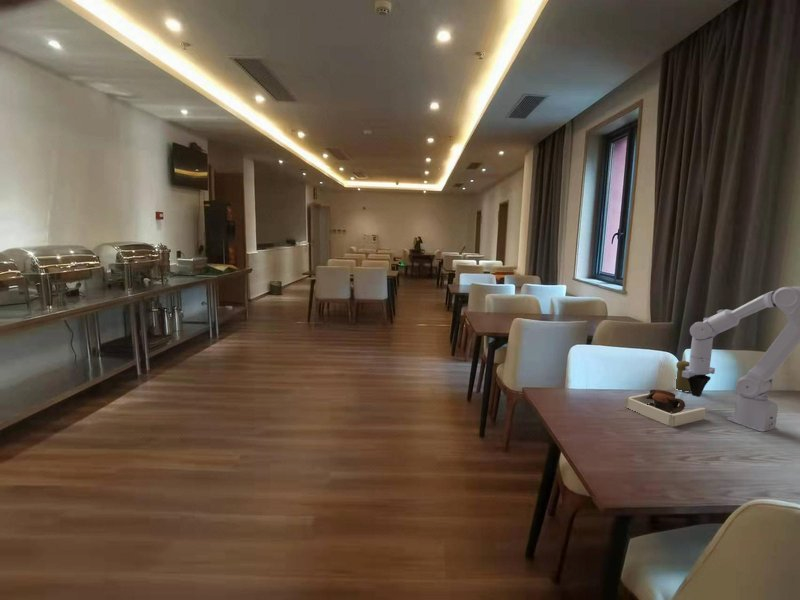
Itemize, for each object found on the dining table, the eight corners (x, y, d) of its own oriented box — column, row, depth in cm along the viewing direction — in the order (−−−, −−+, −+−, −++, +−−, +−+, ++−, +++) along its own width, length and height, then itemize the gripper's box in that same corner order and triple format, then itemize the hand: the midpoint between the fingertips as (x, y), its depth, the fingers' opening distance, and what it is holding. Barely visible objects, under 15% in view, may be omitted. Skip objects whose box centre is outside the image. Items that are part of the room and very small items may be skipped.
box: (704, 419, 132) (705, 408, 132) (671, 426, 126) (673, 415, 125) (656, 401, 147) (657, 391, 146) (624, 407, 140) (625, 397, 140)
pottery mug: (638, 411, 139) (641, 387, 141) (654, 419, 143) (656, 396, 145) (677, 415, 128) (679, 389, 131) (693, 423, 132) (694, 398, 135)
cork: (675, 391, 158) (678, 362, 157) (670, 385, 164) (673, 358, 162) (693, 393, 156) (697, 364, 155) (687, 387, 162) (691, 360, 161)
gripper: (701, 352, 147) (696, 389, 149) (674, 355, 141) (670, 394, 143) (723, 357, 141) (718, 396, 142) (696, 361, 135) (691, 401, 136)
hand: (695, 395), depth 142 cm, fingers closed
